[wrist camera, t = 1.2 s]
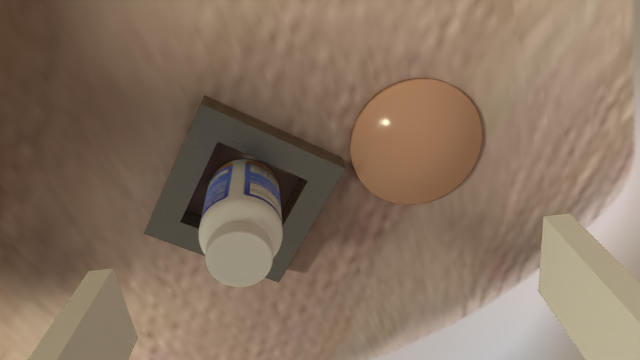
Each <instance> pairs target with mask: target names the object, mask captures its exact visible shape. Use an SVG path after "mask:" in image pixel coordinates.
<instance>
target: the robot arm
mask: <svg viewBox="0 0 640 360" xmlns="http://www.w3.org/2000/svg"><path fill="white" fill-rule="evenodd" d="M538 291H539V293H540V294H541V296H542V297H543V299H544V300H545V302H546V303H547V305H548V306H549V307H550V309H551V310H552V312H553V313H554V315H555V316H556V318H557V319H558V321H559V322H560V324H561V325H562V326H563V328H564V329H565V331H566V332H567V334H568V335H569V337H570V338H571V340H572V341H573V342H574V344H575V345H576V347H577V348H578V350H579V351H580V352H581V354H582V356H583V357H584V358H585V360H640V283H639V282H638V281H637V280H636V279H635V278H634V277H633V276H632V275H631V274H630V273H629V272H628V271H627V270H626V269H625V268H624V267H623V266H622V265H621V264H620V263H619V262H618V261H617V260H616V259H615V258H614V257H613V256H612V255H611V254H610V253H609V252H608V251H607V250H606V249H605V248H604V247H603V246H602V245H601V244H600V243H599V242H598V241H597V240H596V239H595V238H594V237H593V236H592V235H591V234H590V233H589V232H588V231H587V230H586V229H585V228H584V227H583V226H582V225H581V224H580V223H579V222H578V221H577V220H576V219H575V218H574V217H573V216H572V215H571V214H570V213H569V214H560V215H552V216H544V218H543V233H542V247H541V261H540V276H539V290H538ZM137 338H138V337H137V334H136V331H135V329H134V326H133V323H132V320H131V317H130V315H129V312H128V309H127V306H126V303H125V301H124V298H123V295H122V292H121V289H120V286H119V284H118V281H117V278H116V275H115V272H114V270H113V268H111V269H102V270H94V271H88V273H87V274H86V276H85V277H84V279H83V280H82V281H81V283H80V284H79V286H78V287H77V289H76V290H75V292H74V293H73V295H72V296H71V297H70V299H69V300H68V302H67V303H66V305H65V306H64V308H63V309H62V311H61V312H60V314H59V315H58V316H57V318H56V319H55V321H54V322H53V324H52V325H51V327H50V328H49V330H48V331H47V332H46V334H45V335H44V337H43V338H42V340H41V341H40V343H39V344H38V346H37V347H36V348H35V350H34V351H33V353H32V354H31V356H30V357H29V359H28V360H128V359H129V356H130V354H131V352H132V350H133V347H134V345H135V343H136V341H137Z"/></svg>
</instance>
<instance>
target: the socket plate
mask: <svg viewBox="0 0 640 360" xmlns="http://www.w3.org/2000/svg"><path fill="white" fill-rule="evenodd" d="M217 142H220V143H222V144H224V145H227V146H229V147H231V148H233V149H236V150H238V151H240V152H243V153H245V154H247V155H250V156H252V157H254V158H257V159H259V160H261V161H264V162H266V163H268V164H270V165H273V166H275V167H277V168H280V169H282V170H284V171H287V172H289V173H291V174H294V175H296V176H298V177H301V180H300V181H299V183H298V185H297V187H296V189H295V191H294V192H293V194H292V196H291V198H290V200H289V201H288V203H287V205H286V207H285V209H284V210H283V212H282V227H283V237H282V243H281V246H280V248H279V251H278V252H277V254H276V255H275V257H274V258H273V262H272V266H271V269H270V271H269V273H268V274H267V276H266V277H265V278H268V279H271V280H274V281H276V282H279V281H280V280H281V278H282V276H283V275H284V273H285V271H286V269H287V268H288V266H289V264H290V263H291V261H292V259H293V257H294V256H295V254H296V252H297V251H298V249H299V247H300V245H301V244H302V242H303V240H304V239H305V237H306V235H307V233H308V232H309V230H310V228H311V227H312V225H313V223H314V221H315V220H316V218H317V216H318V215H319V213H320V211H321V209H322V208H323V206H324V204H325V203H326V201H327V199H328V197H329V196H330V194H331V192H332V191H333V189H334V187H335V185H336V184H337V182H338V180H339V179H340V177H341V175H342V173H343V172H344V170H345V167H344V164H343V161H342V158H341V157H338V156H336V155H334V154H332V153H330V152H327V151H325V150H323V149H321V148H319V147H316V146H314V145H312V144H310V143H308V142H305V141H303V140H301V139H299V138H297V137H294V136H292V135H290V134H288V133H286V132H283V131H281V130H279V129H277V128H275V127H273V126H270V125H268V124H266V123H264V122H262V121H259V120H257V119H255V118H253V117H251V116H248V115H246V114H244V113H242V112H240V111H237V110H235V109H233V108H231V107H229V106H226V105H224V104H222V103H220V102H218V101H216V100H213V99H211V98H209V97H207V96H204V98H203V100H202V102H201V105H200V107H199V109H198V112H197V114H196V116H195V118H194V121H193V123H192V125H191V127H190V130H189V132H188V134H187V137H186V139H185V141H184V143H183V146H182V148H181V150H180V152H179V155H178V157H177V159H176V162H175V164H174V166H173V168H172V171H171V173H170V175H169V177H168V180H167V182H166V184H165V187H164V189H163V191H162V193H161V196H160V198H159V200H158V202H157V205H156V207H155V209H154V212H153V214H152V216H151V218H150V221H149V223H148V225H147V228H146V230H145V233H144V234H146V235H149V236H152V237H155V238H157V239H160V240H163V241H166V242H168V243H171V244H174V245H177V246H180V247H182V248H185V249H188V250H191V251H193V252H196V253H199V254H202V255H204V256H205V254H204V253H203V251H202V249H201V246H200V243H199V226H200V221H201V217H202V216H201V215H199V214H196V213H193V212H191V211H188V210H186V208H187V206H188V204H189V202H190V200H191V198H192V195H193V193H194V191H195V189H196V187H197V185H198V183H199V180H200V178H201V176H202V174H203V172H204V170H205V168H206V165H207V163H208V161H209V159H210V157H211V155H212V153H213V150H214V148H215V146H216V144H217Z"/></svg>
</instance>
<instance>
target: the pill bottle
mask: <svg viewBox="0 0 640 360" xmlns="http://www.w3.org/2000/svg"><path fill="white" fill-rule="evenodd" d="M282 237H283V227H282V213H281V200H280V188H279V184H278V181H277V179H276V177H275V175H274V174H273V172H272V171H271V170H270V169H269V168H268V167H266V166H265V165H263V164H261V163H259V162H257V161H253V160H247V159H239V160H233V161H230V162H228V163H226V164H224V165H222V166H221V167H220V168H219V169H218V170H217V171H216V172H215V173H214V174H213V176H212V178H211V180H210V182H209V186H208V190H207V194H206V198H205V203H204V208H203V212H202V217H201V221H200V226H199V243H200V246H201V249H202V251H203V253H204V254H205V261H206V266H207V269H208V271H209V273H210V274H211V275H212V276H213V277H214V278H215V279H216V280H217V281H219V282H220V283H222V284H224V285H227V286H231V287H248V286H252V285H254V284H256V283H258V282H260V281H261V280H262V279H264V278H265V277H266V276H267V274H268V273H269V271H270V269H271V266H272V262H273V258H274V257H275V255H276V254H277V252H278V251H279V248H280V246H281V243H282Z"/></svg>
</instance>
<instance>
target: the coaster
mask: <svg viewBox="0 0 640 360" xmlns="http://www.w3.org/2000/svg"><path fill="white" fill-rule="evenodd" d="M481 144H482V125H481V121H480V117H479V115H478V112H477V110H476V108H475V107H474V105H473V103H472V102H471V101H470V100H469V98H468V97H467V96H466V95H464V94H463V93H462V92H461V91H460V90H458V89H457V88H455V87H454V86H452V85H450V84H448V83H446V82H443V81H440V80H436V79H430V78H415V79H408V80H404V81H400V82H398V83H395V84H393V85H391V86H389V87H387V88H385V89H383V90H382V91H381V92H379V93H378V94H376V95H375V96H374V97H373V98H372V99H371V100H370V101H369V102H368V103H367V104H366V106H365V107H364V108H363V109H362V111H361V112H360V114H359V115H358V117H357V120H356V122H355V124H354V127H353V130H352V134H351V139H350V156H351V160H352V164H353V167H354V169H355V172H356V174H357V176H358V178H359V179H360V181H361V182H362V183H363V185H364V186H365V187H366V188H367V189H368V190H369V191H370V192H371V193H373V194H374V195H376V196H377V197H379V198H381V199H383V200H386V201H388V202H391V203H396V204H403V205H415V204H422V203H426V202H430V201H433V200H435V199H438V198H440V197H442V196H444V195H446V194H447V193H449V192H450V191H452V190H453V189H455V188H456V187H457V186H458V185H459V184H460V183H461V182H462V181H463V180H464V179H465V178H466V177H467V176H468V174H469V173H470V172H471V170H472V168H473V167H474V165H475V163H476V161H477V158H478V156H479V153H480V149H481Z"/></svg>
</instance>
